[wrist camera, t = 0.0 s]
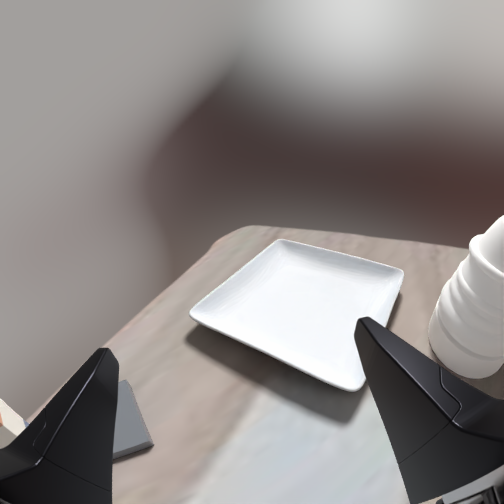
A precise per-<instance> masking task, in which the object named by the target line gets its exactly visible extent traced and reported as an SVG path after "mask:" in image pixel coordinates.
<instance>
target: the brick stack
mask: <svg viewBox="0 0 504 504" xmlns="http://www.w3.org/2000/svg"><path fill="white" fill-rule="evenodd" d="M28 425H29V424H28V423H27V422H26V421H25V420H24V419H22V418H21V417H20V416H19V415H18V414H16V413H15V412H14V411H13V410H12V409H11V408H10V407H9V406H8V405H7V404H6V403H5V402H3V401H2V399H1V398H0V449H1V448H4V447H6V446H7V445H9V444H10V443H11V442H12V441H13V440H14V439H15V438H16V437H17V436H18V435H19V434H20V433H21V432H22V431H23V430H24V429H25V428H26V427H27V426H28Z"/></svg>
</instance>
